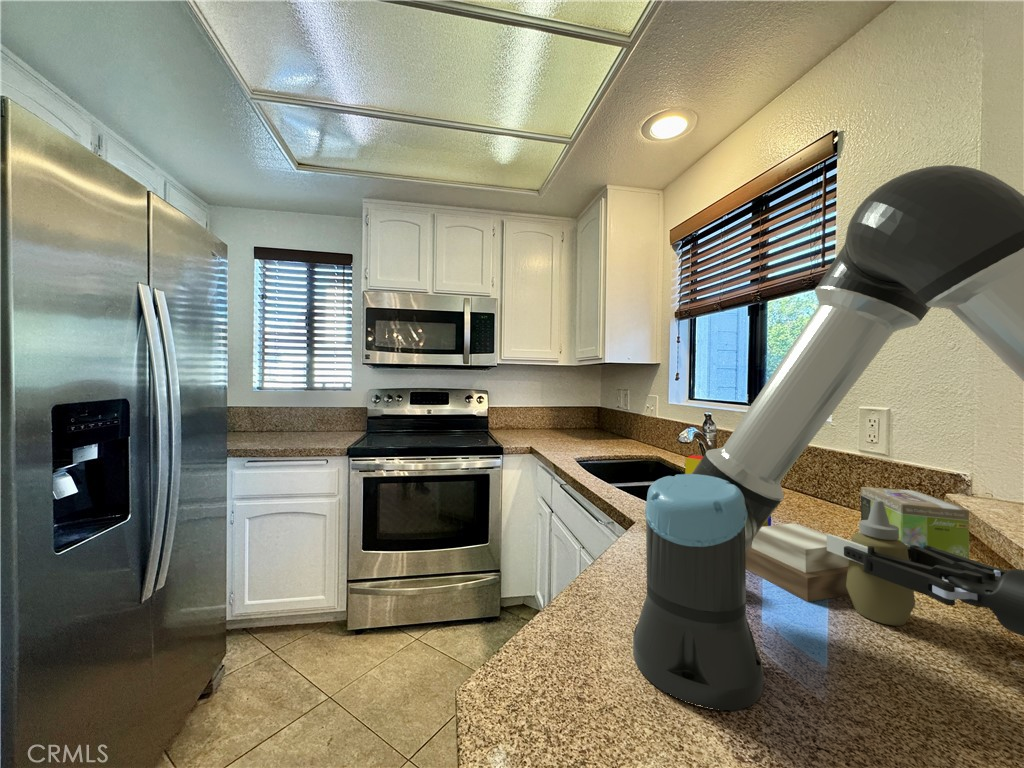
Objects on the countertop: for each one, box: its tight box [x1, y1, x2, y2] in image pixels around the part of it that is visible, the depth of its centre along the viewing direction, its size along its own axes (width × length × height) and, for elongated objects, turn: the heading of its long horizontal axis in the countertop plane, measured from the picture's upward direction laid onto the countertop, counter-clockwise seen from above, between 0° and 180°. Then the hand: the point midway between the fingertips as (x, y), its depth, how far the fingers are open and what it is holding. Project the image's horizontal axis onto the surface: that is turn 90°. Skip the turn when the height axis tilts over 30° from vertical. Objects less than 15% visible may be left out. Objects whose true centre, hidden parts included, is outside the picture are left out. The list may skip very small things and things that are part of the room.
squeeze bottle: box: [846, 500, 916, 627], centre depth 62 cm, size 8×8×18 cm
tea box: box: [860, 486, 970, 579], centre depth 78 cm, size 15×10×15 cm
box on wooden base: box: [746, 522, 850, 603], centre depth 75 cm, size 14×14×8 cm
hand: (844, 540), depth 67 cm, fingers closed on squeeze bottle, 6 cm apart
